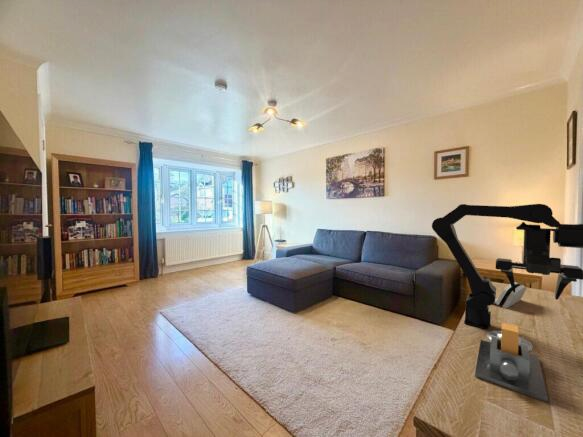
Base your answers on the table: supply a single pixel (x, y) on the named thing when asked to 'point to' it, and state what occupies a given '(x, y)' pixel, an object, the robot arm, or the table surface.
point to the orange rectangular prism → (509, 338)
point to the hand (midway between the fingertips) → (534, 295)
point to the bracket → (511, 366)
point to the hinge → (510, 295)
